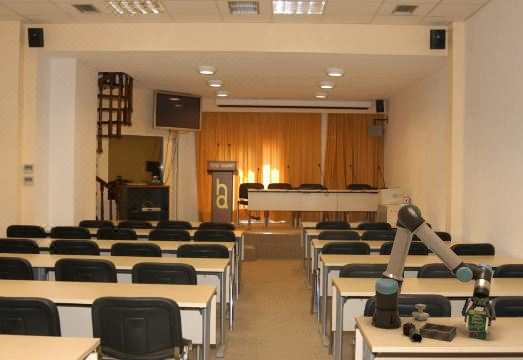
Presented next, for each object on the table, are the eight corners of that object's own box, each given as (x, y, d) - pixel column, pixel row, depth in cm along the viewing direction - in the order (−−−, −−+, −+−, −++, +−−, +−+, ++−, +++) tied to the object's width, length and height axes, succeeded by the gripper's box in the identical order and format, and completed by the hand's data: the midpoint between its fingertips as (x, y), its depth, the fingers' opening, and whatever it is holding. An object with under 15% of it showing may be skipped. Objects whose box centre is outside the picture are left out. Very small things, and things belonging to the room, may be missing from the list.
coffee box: (468, 337, 241) (468, 310, 242) (469, 335, 244) (469, 309, 244) (486, 340, 237) (486, 312, 238) (486, 338, 240) (487, 311, 240)
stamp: (422, 317, 279) (422, 302, 279) (430, 320, 273) (431, 305, 273) (409, 319, 275) (409, 304, 275) (418, 322, 269) (418, 306, 269)
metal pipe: (422, 343, 232) (422, 331, 232) (407, 342, 233) (407, 330, 233) (414, 332, 250) (414, 320, 250) (400, 331, 250) (400, 320, 250)
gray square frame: (419, 336, 241) (419, 328, 241) (426, 329, 254) (426, 322, 254) (450, 341, 234) (450, 333, 234) (456, 334, 246) (456, 326, 246)
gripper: (505, 297, 249) (501, 337, 235) (460, 292, 260) (454, 330, 246) (503, 288, 244) (499, 328, 230) (458, 283, 255) (452, 322, 241)
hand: (476, 329), depth 238 cm, fingers closed on coffee box, 8 cm apart
